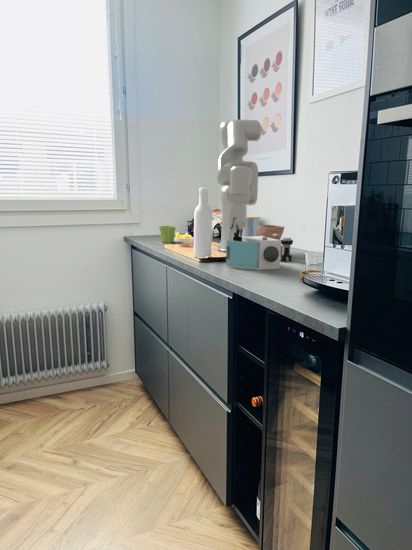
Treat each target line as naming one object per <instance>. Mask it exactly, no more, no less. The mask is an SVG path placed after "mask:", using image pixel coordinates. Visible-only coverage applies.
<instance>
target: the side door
mask: <svg viewBox="0 0 412 550" xmlns="http://www.w3.org/2000/svg"><path fill="white" fill-rule="evenodd" d="M259 251H260V243H253V242H243V241H232V240H227V250H226V252H225V254H226V255H225V264H226V265H227V266H228V265H229V266H234V267H235V266H236V267H241V268H242V267H243V268H251V269H254V268H259Z"/></svg>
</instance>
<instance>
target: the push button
mask: <svg viewBox="0 0 412 550" xmlns="http://www.w3.org/2000/svg"><path fill="white" fill-rule="evenodd" d="M280 240H281V245H282V255H280V263H281V262H282V263H284V262H292V260H293V255H292V254H291V246H292V245H293V242H294V240H292V237H282V238H281V239H280Z"/></svg>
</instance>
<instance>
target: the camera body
mask: <svg viewBox="0 0 412 550" xmlns="http://www.w3.org/2000/svg"><path fill="white" fill-rule="evenodd" d="M281 240H282V239H280V240H277V239H273V238H268V237H263V236H258V235H255V236H254V235H253V236H252V235H251V236H242V241H243V242H253V243H260V251H259V268H253V269H254V270H257V271H262V270H275V269H280V268H281V267H280V266H281V265H280V264H281V261H280V254H281V245H282V244H281Z"/></svg>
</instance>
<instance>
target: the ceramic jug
mask: <svg viewBox="0 0 412 550" xmlns="http://www.w3.org/2000/svg"><path fill="white" fill-rule="evenodd" d="M256 230H257V234H258V235H257V236H263V237H268V238H273V239H277V240H282V236H283V234H284V230H285V226H282V225H281V226H280V225H273V224H258V225H256ZM280 255H282V244H281V254H280Z"/></svg>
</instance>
